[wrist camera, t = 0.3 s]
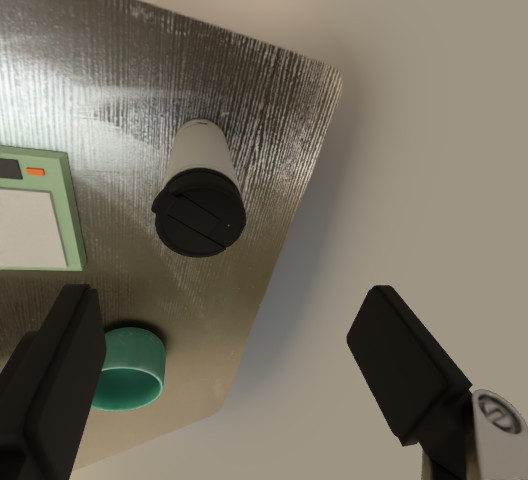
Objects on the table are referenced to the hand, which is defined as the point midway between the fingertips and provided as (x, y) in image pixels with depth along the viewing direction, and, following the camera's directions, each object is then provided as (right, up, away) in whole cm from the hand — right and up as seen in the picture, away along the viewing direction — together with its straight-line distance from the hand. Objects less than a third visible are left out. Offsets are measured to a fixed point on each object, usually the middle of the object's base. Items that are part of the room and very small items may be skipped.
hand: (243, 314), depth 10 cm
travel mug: (-7, +15, +26) cm, 30 cm away
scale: (-30, +6, +26) cm, 40 cm away
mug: (-25, -15, +42) cm, 52 cm away
